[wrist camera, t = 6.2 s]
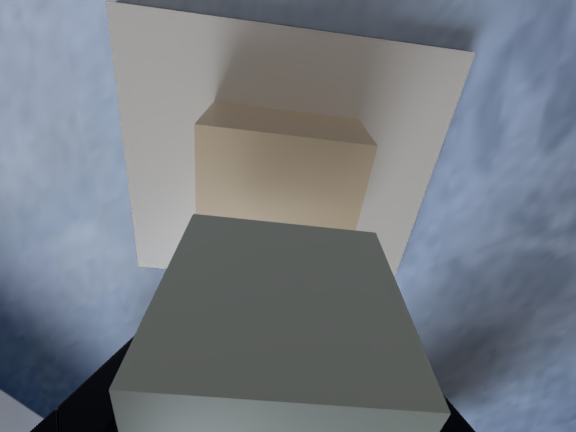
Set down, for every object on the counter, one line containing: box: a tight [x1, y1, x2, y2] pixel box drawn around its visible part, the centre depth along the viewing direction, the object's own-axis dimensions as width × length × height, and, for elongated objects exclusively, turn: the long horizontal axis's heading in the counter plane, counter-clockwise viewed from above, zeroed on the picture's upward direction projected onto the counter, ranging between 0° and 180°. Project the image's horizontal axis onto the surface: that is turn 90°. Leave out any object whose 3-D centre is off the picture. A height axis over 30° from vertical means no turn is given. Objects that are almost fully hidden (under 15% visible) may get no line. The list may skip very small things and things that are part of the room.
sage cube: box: [109, 214, 451, 432], centre depth 8 cm, size 5×5×5 cm
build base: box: [106, 1, 476, 278], centre depth 17 cm, size 14×16×5 cm
